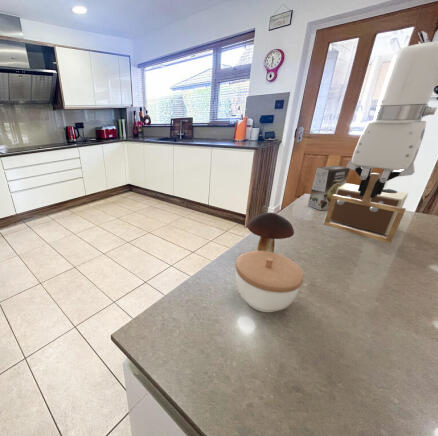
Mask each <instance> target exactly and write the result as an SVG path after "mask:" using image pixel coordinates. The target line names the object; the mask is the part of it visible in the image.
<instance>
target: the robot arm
mask: <svg viewBox="0 0 438 436" xmlns="http://www.w3.org/2000/svg"><path fill="white" fill-rule="evenodd" d="M437 86H438V40H435V41H428V42H421V43H415V44H411V45H408V46H407V45H406V46H404V47H401V48H400V49H398V50H397V51H396V52H395V53H394V55H393V56H392V59H391V61H390V64H389V68H388V71H387V74H386V77H385V80H384V83H383V86H382V90H381V92H380V95H379V99H378V101H377V105H376V108H375V111H374V113H373V117H372V119H371V120H369V121H368V122H367V123H366V125H365V127H364V128H363V131H362V132H361V134H360V136H359V138H358V141H357V144H356V146H355V149H354V151H353V154H352V156H351V159H350V160H349V161H348V163H347V164H346V166H345V167H347V168H349V169H350V170H352V171H354V172H355V173H356V174H357V175H358V176H359V179H360V183H359V185H360V186H359V189H358V191H360V195H359V196H364V194H365V191H366V188H367V185H368V183H369V179H370V176H371V174H372V171H373V169H381V170H383V171H382V173H381V175H380V177H379V179H378V181H377V182H376V183H375V185H374V188H373V191H372V193H371V196H370V197H371V198H375V197H376V196H377V195H381V193H382V191H383V189H385V186H386V183H387V182H388V181H391V180H393V179H395V178H398V177H408V176H412V175H413V174H415V161H416V159H417V156H418V153H419V151H420V147H421V145H422V141H423V139H424V136H425V133H426V132H425V131H426V127H427V126H426V125H427V121H426V120H422V119H423V118H424V117H428V116H434V115H435V114H436V111H437V107H432V106H429V101H430V99H431V97H432V95H433V92H434V89H435V87H437Z"/></svg>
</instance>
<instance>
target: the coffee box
mask: <svg viewBox="0 0 438 436" xmlns="http://www.w3.org/2000/svg"><path fill="white" fill-rule="evenodd" d="M350 170H351V169H349V168H347V167H346V166H342V165H336V164H334V165H327V166H326V165H325V166H320V167H317V168H316V172H315V175H314V179H313V183H312V186H311V190H310V194H309V197H308V202H307V206H308V207H311V208H313V209H315V210H318V211H325V210H326V211H327V210H328V208H329V204H330V201H331V198H332V195H333V194H336V191H337V188H338V187H340V186H342V185H343V184H345V183H347V180H348V176H349V173H350Z"/></svg>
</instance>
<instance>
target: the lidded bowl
mask: <svg viewBox="0 0 438 436" xmlns="http://www.w3.org/2000/svg"><path fill="white" fill-rule="evenodd" d="M234 274H235V275H234V276H235V285H236V288H237V291H238V293H239V295H240V296H241V298H242V299H243V300H244V301H245V302H246V304H248V306H250V307H251V308H252V309H254V310H256V311H258V312H262V313H275V312H278V311H282V310H284V309H286V308H287V307H290V306H291V305H292V303H294V301H295V300H296V298H297V296H298V294H299V292H300V289H301V286H302V284H303V282H304V277H305V276H304V272H303V270H302V268H301V267H300V266H299V265H298V264H297V263H296V262H295V261H293V260H291V259H290V258H288V257H286V256H284V255H282V254H280V253H276V252H274V253H272V252H268V251H256V250H251V251H246V252H244V253H242V254H240V255H239V256H238V257H237V258H236V261H235V273H234Z"/></svg>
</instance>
